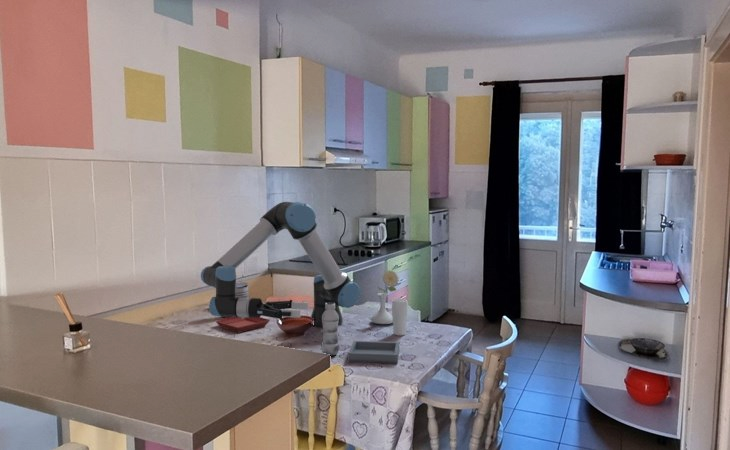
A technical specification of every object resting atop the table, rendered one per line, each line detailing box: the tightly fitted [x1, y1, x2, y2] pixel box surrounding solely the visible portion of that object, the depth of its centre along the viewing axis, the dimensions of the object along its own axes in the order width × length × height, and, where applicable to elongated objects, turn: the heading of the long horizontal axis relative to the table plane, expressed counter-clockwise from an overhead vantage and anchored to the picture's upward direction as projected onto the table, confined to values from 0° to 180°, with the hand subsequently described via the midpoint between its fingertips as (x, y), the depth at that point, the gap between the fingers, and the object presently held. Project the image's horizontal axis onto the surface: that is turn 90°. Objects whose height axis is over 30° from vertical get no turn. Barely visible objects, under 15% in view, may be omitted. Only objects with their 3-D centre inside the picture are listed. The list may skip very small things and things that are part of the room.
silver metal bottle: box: [321, 303, 340, 357], centre depth 213 cm, size 6×7×20 cm
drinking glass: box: [391, 298, 409, 337], centre depth 242 cm, size 7×7×15 cm
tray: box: [347, 340, 400, 365], centre depth 212 cm, size 16×18×4 cm
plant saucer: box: [215, 316, 271, 333], centre depth 256 cm, size 18×18×3 cm
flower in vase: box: [370, 269, 400, 325], centre depth 261 cm, size 13×11×25 cm
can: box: [236, 282, 249, 298], centre depth 296 cm, size 11×11×12 cm
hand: (304, 309), depth 213 cm, fingers open, 13 cm apart
